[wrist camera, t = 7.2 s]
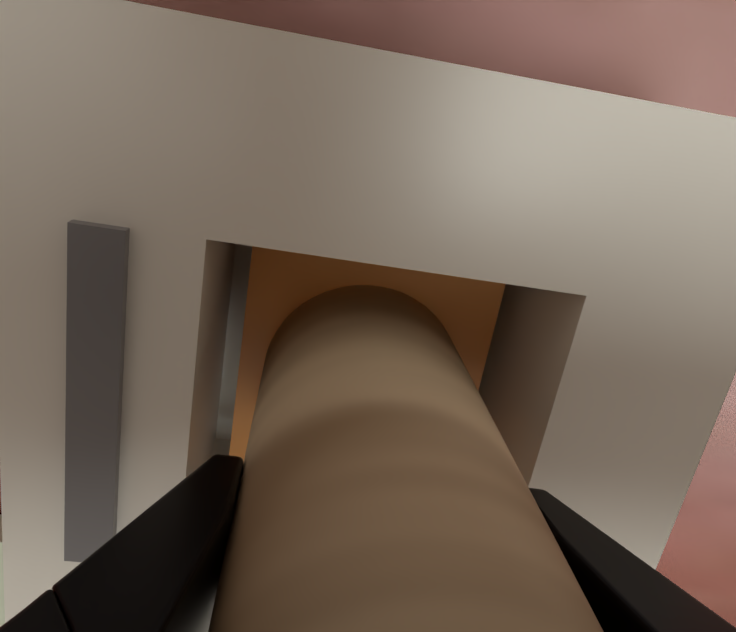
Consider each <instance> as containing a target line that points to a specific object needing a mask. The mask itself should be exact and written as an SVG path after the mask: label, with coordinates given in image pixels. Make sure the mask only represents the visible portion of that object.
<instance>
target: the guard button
mask: <svg viewBox="0 0 736 632" xmlns="http://www.w3.org/2000/svg"><path fill="white" fill-rule="evenodd" d="M353 285H371V286H380V287H385V288H390V289H393V290H396V291H399V292H402V293H404V294H406V295H408V296H410V297H412V298H414V299H416V300H417V301H419V302H420V303H422V304H423V305H425V306H426V307H427V308H428V309H429V310H430V311H431V312H432V313H433V314H435V316H436V317H437V318H438V319H439V320H440V322H441V323H442V324H443V326H444V328H445V329H446V331H447V332H448V334H449V336H450V338H451V340H452V342H453V344H454V346H455V348H456V350H457V351H458V353H459V355H460V357H461V359H462V361H463V363H464V365H465V367H466V369H467V371H468V373H469V374H470V376H471V378H472V380H473V382H474V384H475V386H476V388H477V390H479V386H480V383H481V379H482V375H483V371H484V367H485V363H486V359H487V355H488V351H489V348H490V344H491V340H492V336H493V332H494V328H495V324H496V320H497V316H498V312H499V309H500V305H501V301H502V297H503V293H504V289H505V285H506V284H503V283H497V282H490V281H483V280H477V279H470V278H463V277H456V276H450V275H443V274H436V273H429V272H423V271H416V270H409V269H403V268H396V267H389V266H382V265H376V264H369V263H362V262H355V261H349V260H342V259H335V258H328V257H322V256H315V255H308V254H302V253H295V252H288V251H281V250H275V249H268V248H261V247H254V246H252V254H251V263H250V272H249V281H248V290H247V299H246V308H245V317H244V326H243V335H242V344H241V353H240V362H239V370H238V379H237V388H236V397H235V406H234V415H233V424H232V433H231V442H230V451H229V455H230V456H239V457H241V458H242V459H243V463H244V458H245V453H246V448H247V444H248V439H249V434H250V429H251V424H252V420H253V415H254V410H255V405H256V401H257V396H258V391H259V386H260V381H261V377H262V372H263V367H264V362H265V358H266V353H267V350H268V348H269V345H270V342H271V340H272V338H273V336H274V335H275V333H276V331H277V330H278V328H279V327H280V325H281V324H282V323H283V321H284V320H285V319H286V318H287V317H288V316H289V315H290V314H291V313H292V312H293V311H294V310H295V309H297V308H298V307H299V306H300V305H302V304H303V303H305V302H306V301H308V300H310V299H311V298H313V297H315V296H317V295H319V294H322V293H324V292H326V291H330V290H333V289H336V288H340V287H346V286H353Z"/></svg>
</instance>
